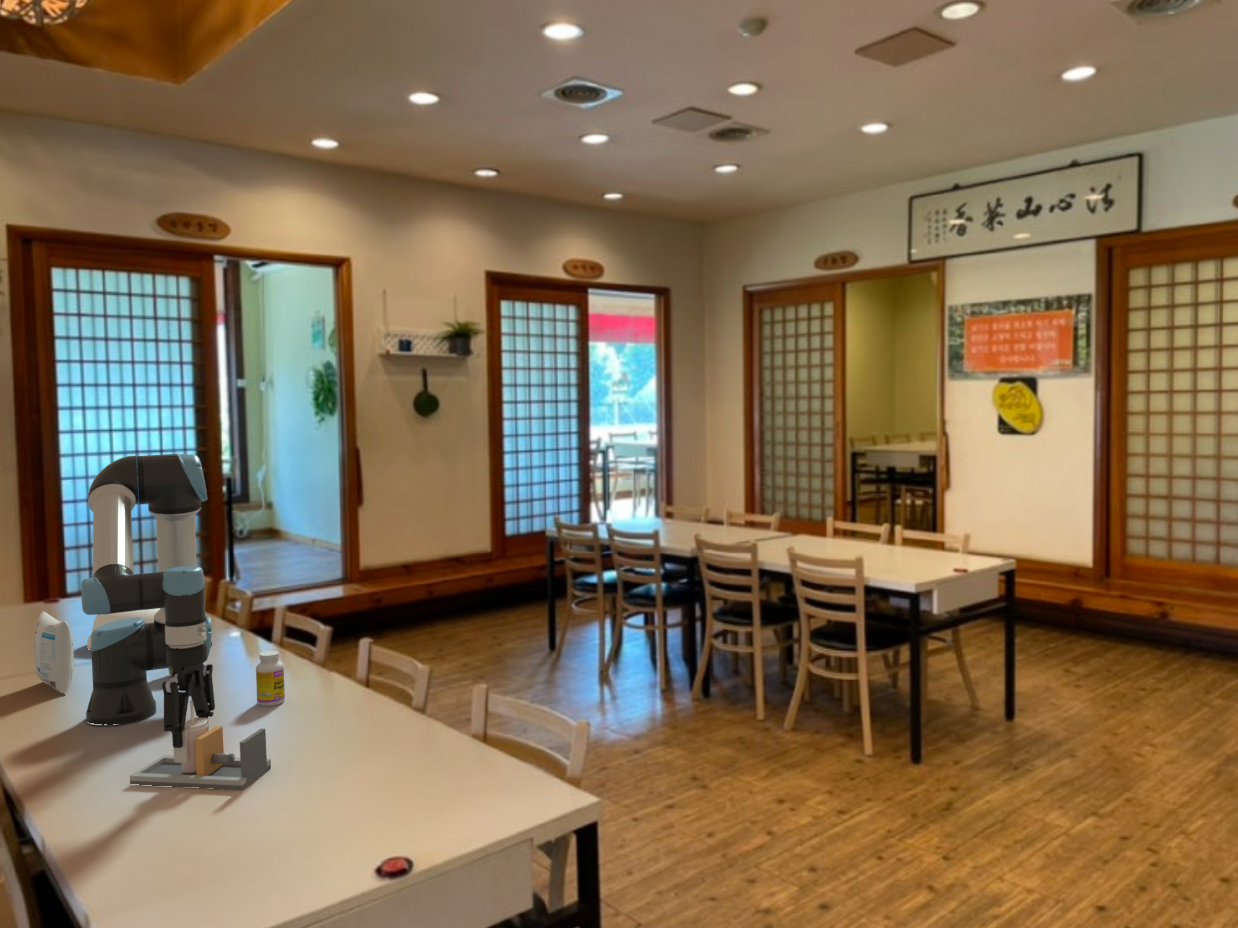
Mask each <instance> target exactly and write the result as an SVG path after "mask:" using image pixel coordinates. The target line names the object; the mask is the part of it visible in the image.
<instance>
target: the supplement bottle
mask: <svg viewBox="0 0 1238 928" xmlns="http://www.w3.org/2000/svg"><path fill="white" fill-rule="evenodd" d="M279 658H280V651H277V650H268V651H262V652H260V653H259V660H260V662H259V663H258V664H257V665H256V667H255V678H256V681H255V683H256V684H255V685H256V703H257V704H258V705H259V706H262V707H273V706H278V705H281V704H282V703H284V702H285V698H286V695H285V689H286V688H285V669H284V668H285V667H284V663H283V662H282V661H280V660H279Z"/></svg>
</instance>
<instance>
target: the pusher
mask: <svg viewBox="0 0 1238 928" xmlns="http://www.w3.org/2000/svg"><path fill="white" fill-rule="evenodd" d="M223 727H224V726H221V725H218V726H213V727H212V728H210V729H208V731H207V732H205V733H204V734H202V735H201V736H199V737H197V738H196V739H195V748H196V769H197V775H198V776H208V775H209V774H211V773H212V772H214V771H215V770H217V769H218V768H220V767H221V766H222V765H224V764H232V763H233V762H234V759H235V758H236V757H235V754H234V753H227V752H226V753H225V751H224V749H225V748H224V733H223V731H224V729H223Z"/></svg>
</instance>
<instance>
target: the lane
mask: <svg viewBox="0 0 1238 928" xmlns="http://www.w3.org/2000/svg"><path fill="white" fill-rule="evenodd" d="M266 737H267V735H266V728H259V729H258V730H256V731H255V732H254V733H251V734H250V735H249V736H247V737H246V738H244V739H243V740H241V741H240V742H239V756H240V757H235V759H234V762H233V763H232V764H224V765H222V766H221V767H220V768H218V769H217V770H215V771H214V772H212V773H211V774H209V775H208V776H198V775H197V771H196V772H191V773H185V772H183V770H182V764H181V763H178V762H174V754H164V755H162V756H160V757H158V758H157V759H155V760H154V761H152V762H151V763H148V764H147V765H145V766H143V767H142V768H140V769H138V770H136V772H133V773H132V774H130V775H129V785H130V784H139V785H152V786H172V787H171V788H174V787H199V788H213V789H212V790H219V789H224V790H225V791H245V789H246V788H247V787H248V786H251V784H253V783H254V782H255V781H257V780H258V779H259V778H260V777H262V776H263V775H265V774H266V773H268V771H270V770H271V768H272V764H271V763H272V762H271V758H268V757H267V738H266Z"/></svg>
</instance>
